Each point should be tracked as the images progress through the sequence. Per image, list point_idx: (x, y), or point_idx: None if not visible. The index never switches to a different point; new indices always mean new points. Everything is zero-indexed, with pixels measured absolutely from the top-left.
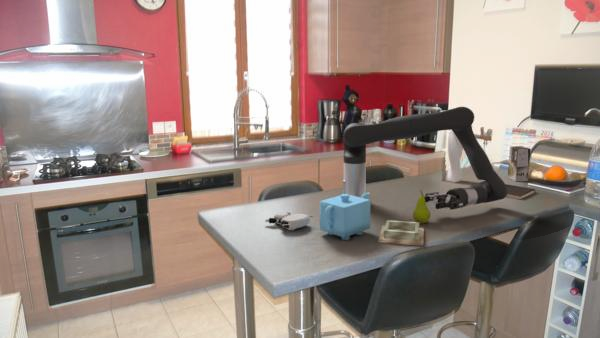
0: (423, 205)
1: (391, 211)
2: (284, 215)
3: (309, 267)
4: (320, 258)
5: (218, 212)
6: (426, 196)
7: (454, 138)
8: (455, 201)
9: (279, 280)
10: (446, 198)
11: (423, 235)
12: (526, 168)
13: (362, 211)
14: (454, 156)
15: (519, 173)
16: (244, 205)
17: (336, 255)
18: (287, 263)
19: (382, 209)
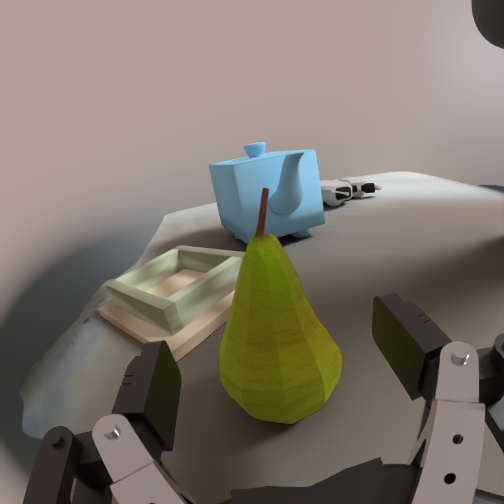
0: (232, 303)
1: (479, 316)
2: (340, 179)
3: (175, 221)
4: (189, 224)
5: (405, 174)
6: (419, 333)
7: None
8: (46, 498)
9: (169, 214)
10: (154, 468)
11: (124, 325)
12: None
13: (229, 188)
14: None
15: None
16: (441, 179)
17: (184, 232)
18: (200, 212)
19: (495, 294)
